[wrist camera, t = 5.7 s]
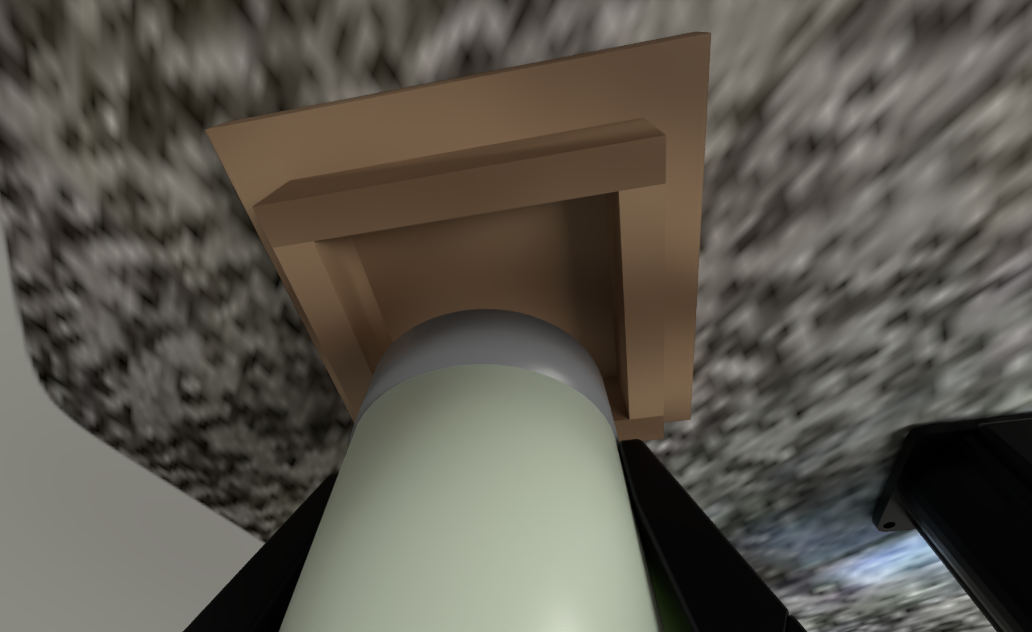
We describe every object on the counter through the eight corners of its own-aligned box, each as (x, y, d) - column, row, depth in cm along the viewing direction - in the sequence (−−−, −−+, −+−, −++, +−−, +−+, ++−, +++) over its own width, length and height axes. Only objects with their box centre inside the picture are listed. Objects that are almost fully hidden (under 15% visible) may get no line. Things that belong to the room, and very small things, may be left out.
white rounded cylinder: (611, 469, 11) (725, 966, 5) (410, 492, 12) (307, 979, 6) (597, 290, 8) (799, 906, 3) (334, 329, 9) (-15, 938, 3)
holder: (681, 400, 17) (710, 464, 15) (377, 436, 18) (355, 502, 16) (696, 31, 11) (750, 35, 8) (226, 122, 12) (149, 149, 9)
